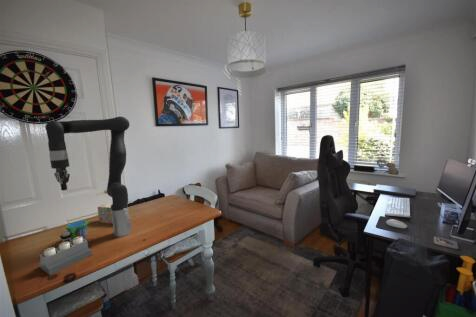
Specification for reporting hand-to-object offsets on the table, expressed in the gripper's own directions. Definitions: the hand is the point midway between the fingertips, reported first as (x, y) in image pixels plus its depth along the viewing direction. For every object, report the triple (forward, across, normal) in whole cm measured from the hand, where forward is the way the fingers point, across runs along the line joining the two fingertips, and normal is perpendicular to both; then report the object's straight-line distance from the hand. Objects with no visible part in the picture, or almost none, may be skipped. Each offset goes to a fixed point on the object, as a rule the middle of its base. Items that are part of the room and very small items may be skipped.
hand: (64, 189), depth 116 cm
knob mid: (+31, -10, +7) cm, 34 cm away
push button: (+35, +2, +1) cm, 35 cm away
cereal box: (+35, +15, -32) cm, 50 cm away
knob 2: (+32, -10, +1) cm, 33 cm away
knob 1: (+32, -10, +13) cm, 36 cm away
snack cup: (+35, +10, -7) cm, 37 cm away
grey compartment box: (+35, -10, +7) cm, 37 cm away
